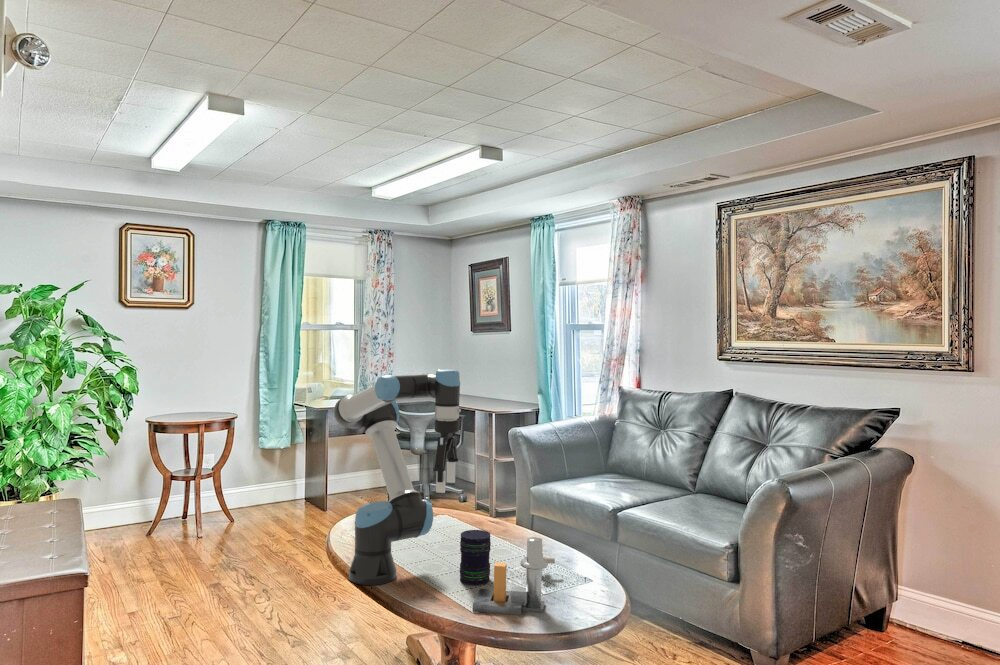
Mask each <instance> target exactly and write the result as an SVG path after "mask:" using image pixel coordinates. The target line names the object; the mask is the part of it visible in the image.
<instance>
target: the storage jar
mask: <svg viewBox="0 0 1000 665" xmlns="http://www.w3.org/2000/svg"><path fill="white" fill-rule="evenodd" d="M459 544H460V545H459V547H460V548H459V551H460V563H459V582H460V583H461V584H463V585H465V586H470V587H478V586H479V587H480V586H484V585H487V584H488V583H490V579H491V578H490V575H491V562H490V553H491V549H492V548H491V533H490V531H487V530H483V529H469V530H465V531H462V532H461V533H460V542H459Z"/></svg>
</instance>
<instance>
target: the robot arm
mask: <svg viewBox="0 0 1000 665" xmlns="http://www.w3.org/2000/svg"><path fill="white" fill-rule="evenodd" d="M460 378H461V377H460V371H459V370H458V369H446V368H444V369H437V370H436V372H435V374H434V373H433V374H432V373H429V372H426V373H425V372H421V373H418V374H395V375H392V374H387V375H380V376H379V377H377V380H376V381H375V384H374V385H372V386H370V387H368V388H366V389H364V390H362V391H360V392H358V393H356V394H347V395H345V396H343V397H342V398H340V399H339V400H337V402H336V403H335V405H334V407H333V415H334V418H335V421H336V422H337V423H338V424H339V425H340V426H341V427H343V428H347V429H351V430H357V429H363V430H364V433H365V435H366V436H367V437H368V438H371V442H372V444H373V447H374V451H375V453H376V454H375V455H376V457H377V461H378V464H379V467H380V471H381V474H382V477H383V480H384V484H385V487H386V490H387V493H388V497H389V499H388V501H385V500H380V501H372V502H368V503H365V504H362V505H361V506H359V508H358V509H357V510H356V512H355V517H354V518H355V520H354V555H353V559H352V560H351V564H350V567H349V570H348V580H349V581H350V582H352V583H354V584H357V585H362V586H363V585H364V586H377V585H378V586H379V585H383V584H387V583H390V582H392V581H393V580H395V579H396V578H397V567H396V564H395V561H394V558H393V557H394V556H393V554H392V543H393V542H397V541H399V542H400V541H403V540H408V539H415V538H419V537H421V536H424V535H425V536H426V535H427V534H428V533H429V532H430V530H431V529H432V527H433V522H434V510H433V506H432V504H431V502H430V501H429V500H427V499H422V495H421V493H420V491H417V490H415V488H414V486H413V482H412V480H411V476H410V474H409V471H408V468H407V465H406V461H405V458H404V455H403V451H402V449H401V446H400V443H399V440H398V437H397V433H396V431H395V430H396V428H397V427H398V423H399V420H400V414H399V413H400V408H399V405H398V403H397V401H399V400H406V399H409V400H410V399H422V398H426V399H427V398H430V399H435V404H434V406H435V407H434V418H435V420H434V432H436V433H440V437H437V447H436V455H435V461H434V468H433V471H434V472H435V476H436V478H435V493H441V494H445V493H446V484H447V483H450V484H455V483H456V463H457V462H459V457H458V452H457V442H456V433H458V432H459V431H460V421H459V418H460V413H461V412H462V409H461V408H460V393H461V392H460V391H461V380H460Z"/></svg>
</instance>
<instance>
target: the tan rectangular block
mask: <svg viewBox="0 0 1000 665" xmlns="http://www.w3.org/2000/svg"><path fill="white" fill-rule="evenodd" d="M493 565H494V566H493V567H494V568H493V590H494V601H499V602H506V591H507V569H508V568H507V562H499V561H498V562H497V561H496V562H495V563H494V564H493Z"/></svg>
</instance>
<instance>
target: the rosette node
mask: <svg viewBox="0 0 1000 665" xmlns="http://www.w3.org/2000/svg"><path fill="white" fill-rule="evenodd" d="M542 545H543V539H542V538H540V537H537V536H534V537H533V536H532V537H528V538H527V539H526V557H527V558H525V559H524V558H523V559H521V560H520V566H521V567H522V568H524V569H526V576H525V577H526V579H525V580H526V581H525V582H526V583H525V584H526V585H525V587H519V586H518V587H517V586H512V588H511V590H506V602H499V601H494V589H489V588H488V589H487V588H479V590H478V592H477V594H476V597H475V599H474V601H473V602H472V612H480V613H488V614H489V613H492V614H504V615H515V616H521V615H522V612H529V613H530V612H533V613H543V612H544V609H545V604H546V601H545V600H542V575H543V569H546V568H548V566H549V563H548V561H546V560H545V559H542V553H543V548H542Z"/></svg>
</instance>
